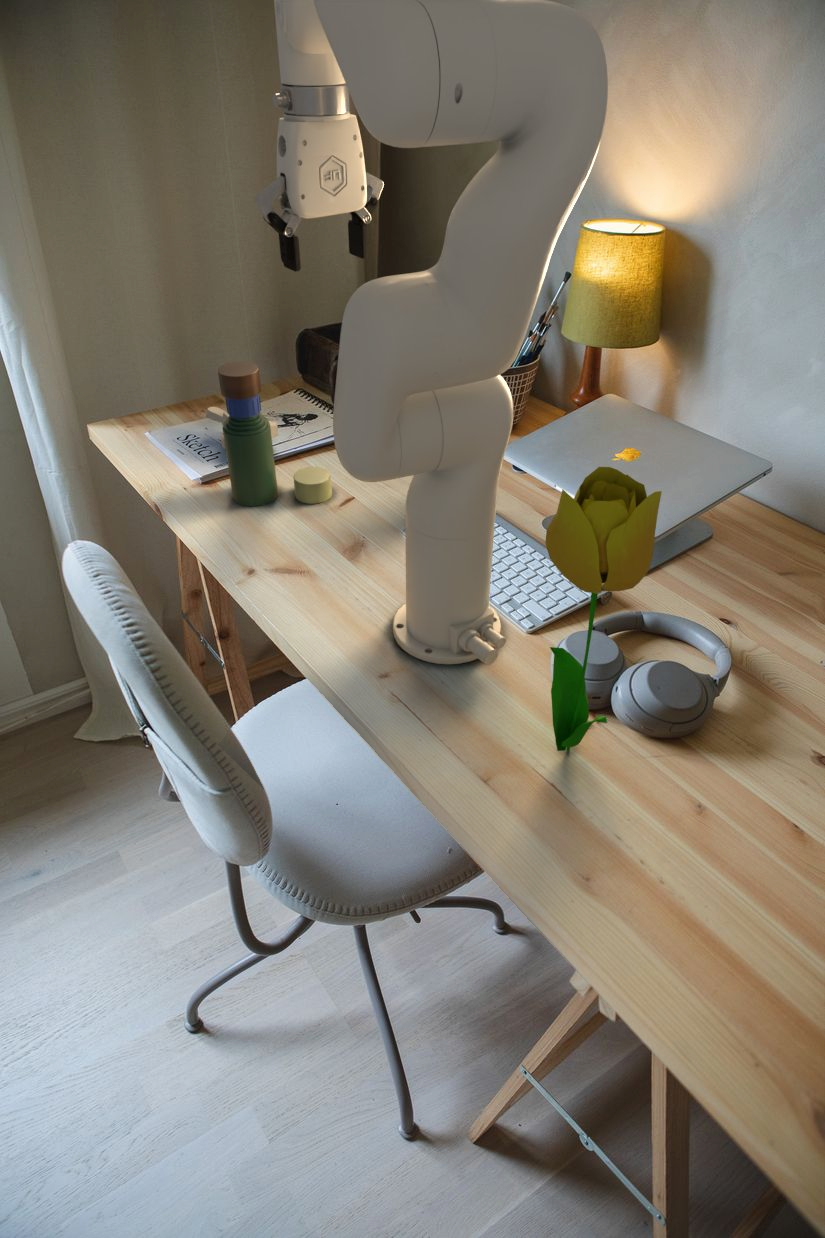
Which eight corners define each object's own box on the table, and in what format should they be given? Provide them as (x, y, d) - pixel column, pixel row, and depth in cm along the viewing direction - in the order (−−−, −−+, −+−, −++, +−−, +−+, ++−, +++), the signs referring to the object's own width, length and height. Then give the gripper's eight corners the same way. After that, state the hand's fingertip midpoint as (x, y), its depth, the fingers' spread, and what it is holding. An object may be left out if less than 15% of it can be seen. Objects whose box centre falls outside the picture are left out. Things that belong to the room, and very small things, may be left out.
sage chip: (338, 496, 122) (337, 477, 120) (307, 507, 119) (305, 488, 117) (319, 482, 125) (318, 463, 123) (288, 492, 123) (286, 473, 121)
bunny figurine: (231, 443, 127) (197, 398, 136) (234, 471, 130) (201, 426, 139) (288, 429, 130) (251, 387, 139) (289, 457, 134) (253, 414, 143)
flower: (627, 752, 82) (690, 484, 63) (576, 796, 77) (628, 522, 59) (558, 708, 87) (598, 447, 68) (507, 747, 82) (535, 479, 64)
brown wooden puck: (268, 393, 112) (265, 370, 110) (232, 403, 109) (228, 379, 107) (249, 380, 115) (247, 358, 113) (214, 390, 113) (210, 367, 111)
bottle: (286, 497, 122) (275, 398, 112) (245, 511, 118) (231, 410, 109) (264, 480, 126) (252, 382, 116) (225, 492, 123) (209, 394, 113)
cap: (267, 412, 114) (264, 393, 112) (236, 421, 111) (234, 401, 110) (251, 401, 117) (249, 382, 115) (221, 409, 114) (218, 390, 113)
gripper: (263, 112, 87) (279, 281, 97) (397, 100, 95) (399, 257, 105) (231, 105, 91) (250, 267, 102) (361, 94, 99) (366, 245, 110)
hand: (325, 262), depth 104 cm, fingers open, 9 cm apart
